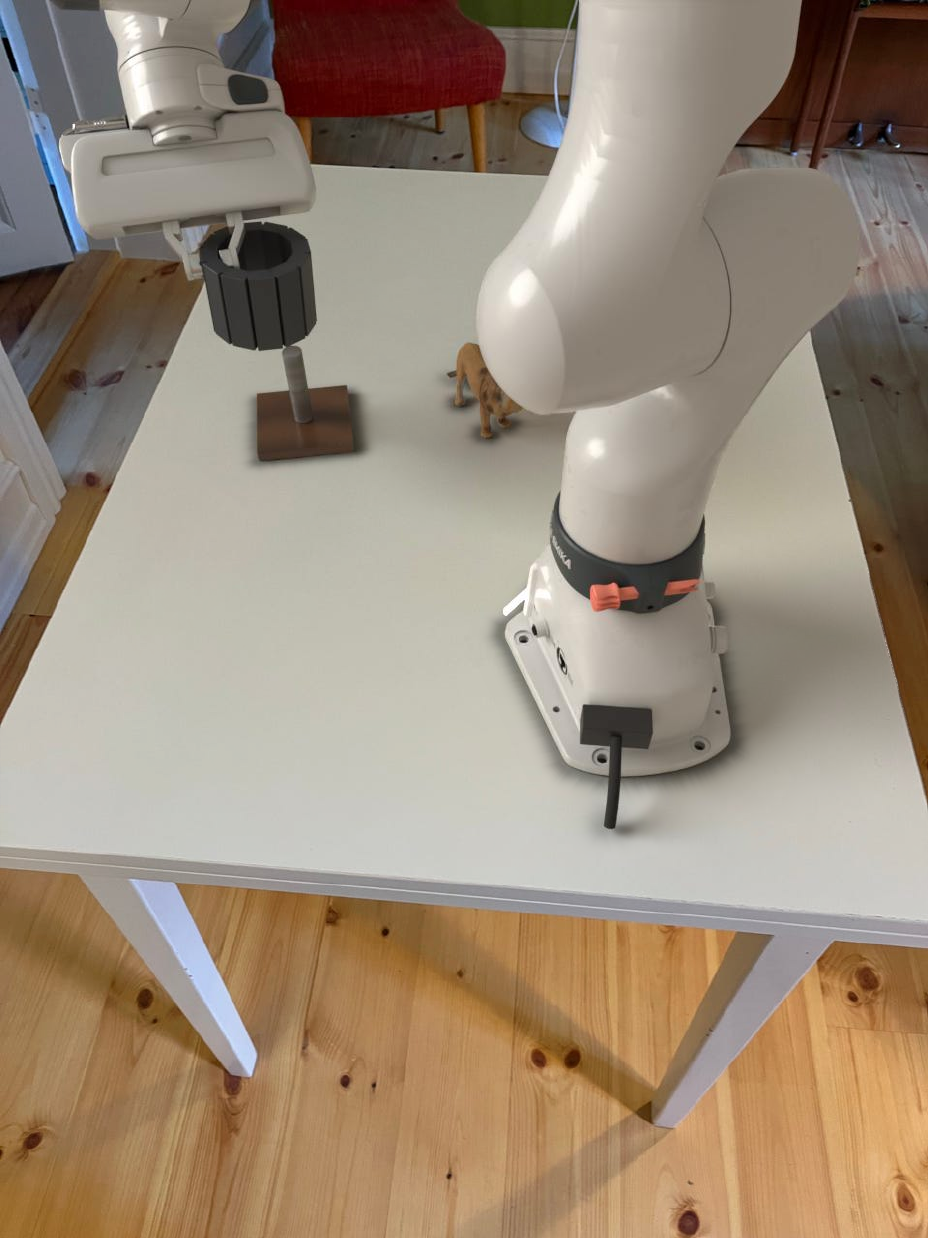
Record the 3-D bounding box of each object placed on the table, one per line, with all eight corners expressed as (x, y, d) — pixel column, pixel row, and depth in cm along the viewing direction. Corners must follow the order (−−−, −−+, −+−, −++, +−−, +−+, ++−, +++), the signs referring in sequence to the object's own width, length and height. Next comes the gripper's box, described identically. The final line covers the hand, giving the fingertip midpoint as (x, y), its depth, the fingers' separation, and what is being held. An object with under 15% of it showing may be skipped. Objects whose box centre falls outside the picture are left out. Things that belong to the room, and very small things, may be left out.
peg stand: (354, 451, 99) (344, 376, 91) (259, 461, 98) (241, 386, 90) (347, 393, 105) (338, 318, 97) (258, 401, 104) (242, 327, 96)
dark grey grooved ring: (323, 344, 84) (317, 274, 79) (217, 355, 83) (204, 284, 77) (307, 286, 90) (301, 217, 84) (208, 296, 88) (195, 225, 83)
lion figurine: (542, 439, 100) (547, 369, 93) (501, 458, 98) (504, 388, 91) (465, 370, 107) (465, 300, 100) (426, 386, 105) (423, 317, 98)
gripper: (43, 106, 74) (83, 282, 76) (297, 79, 78) (330, 248, 79) (63, 139, 81) (99, 301, 82) (297, 112, 84) (327, 269, 86)
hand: (214, 275), depth 81 cm, fingers closed on dark grey grooved ring
